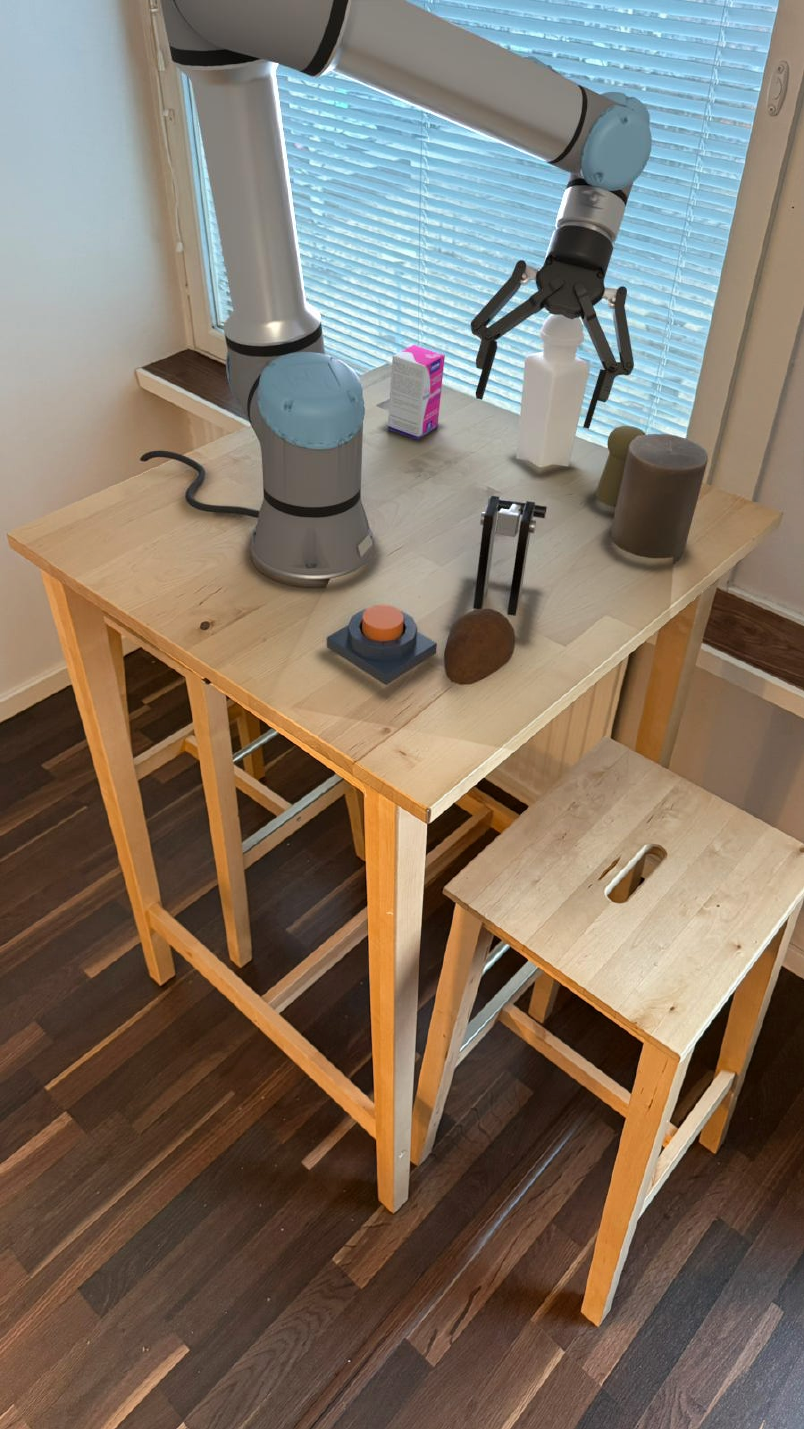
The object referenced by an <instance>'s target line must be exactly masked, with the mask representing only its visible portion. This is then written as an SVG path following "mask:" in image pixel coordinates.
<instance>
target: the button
mask: <svg viewBox="0 0 804 1429" xmlns="http://www.w3.org/2000/svg"><path fill="white" fill-rule="evenodd" d="M365 609H366V610H365V611H364V613H363V616H362V631H363V633H364V635H365V636H366V637H368V638H370V639H371V640H376V641H382V642H383V641H390V640H396V639H397V638H399V637H400V636H401V635H402V632H403V620H404V617H403V614H402V612H403V611H402V610H401V609H399V608H397V607H394V606H392V605H387V604H376V605H372V606H369V607H368V608H365ZM400 610H401V611H402V612H401V611H400Z"/></svg>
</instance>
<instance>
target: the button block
mask: <svg viewBox="0 0 804 1429" xmlns="http://www.w3.org/2000/svg"><path fill="white" fill-rule="evenodd" d="M366 609H367V608H363V609H362V610H361V611H359V612H357V613H355V614H354V615H352V616H351V618H350V619H349V622H348V624H347V625H346V626H344V627H343V628H340V629H339V630H337V631H335V632H334V633H332V634H330V635H328V636H327V637H326V648H328V649H329V650H330V651H331V652H334V653H335V654H337V655H338V656H340V657H341V658H343V659H344V660H345V661H347V662H349V663H350V664H352V665H354V666H355V667H357V668H358V669H359V670H361V671H362V672H364V673H365V674H368V675H369V676H370V677H372V678H374V679H375V680H377V681H378V682H380V683H382V684H383V685H385V686H387V685H389V684H391V683H392V682H394V681H395V680H397V679H398V678H400V677H402V676H403V675H404V674H406V673H407V672H409V671H411V670H412V669H413V668H415V667H417V666H418V665H420V664H422V663H423V662H425V661H426V660H428V659H429V658H431V657H433V656H435V655H436V654H437V647H438V643H437V642H435V641H434V640H432V639H430V638H429V637H427V636H425V635H424V634H422V633H420V631H418V626H417V624H416V622H415V620H414V618H413V617H412V616H411V615H409V614H408V613H406V612H404V611H403V610H401V609H399V610H400V611H401V612H402V614H403V617H404V620H403V632H402V635H401V636H400V637H399V638H397V639H396V640H390V641H383V642H382V641H376V640H371V639H370V638H368V637H366V636H365V635H364V633H363V631H362V616H363V613H364V611H365V610H366Z"/></svg>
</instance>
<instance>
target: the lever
mask: <svg viewBox="0 0 804 1429" xmlns="http://www.w3.org/2000/svg"><path fill="white" fill-rule="evenodd" d="M489 499H490V497H489V498H488V500H487V503H488V502H489ZM525 504H526V502H520V501H515V500H508V499H501V498H499V505H498V513H497V520H496V528H495V535H498V536H499V535H500V536H505V537H511V538H515V537H516V536H517V534H518V532H519V526H520V520H521V516H522V515H523V511H524V508H525ZM547 508H548V507H547V506H546V505H539V504H535V507H534V513H533V518H538V519H546V514H547Z"/></svg>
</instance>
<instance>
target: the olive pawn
mask: <svg viewBox="0 0 804 1429" xmlns="http://www.w3.org/2000/svg"><path fill="white" fill-rule="evenodd" d="M640 435H641V436H642V435H647V434H646V432H645V431H644V430H642V429H641V428H638V427H636V426H631V425H621V426H618V427H615V428H613V429H612V430H611V432H610V433H609V435H608V438H607V444H606V445H607V449H608V452H609V453H608V455H607V459H606V461H605V464H604V467H603V470H602V473H601V476H600V479H599V481H598V484H597V487H596V490H595V493H594V494H595V497H596V499H598V501H600V502H601V503H603V504H605V505H608V506H612V507H616V505H617V501H618V496H619V491H620V487H621V483H622V478H623V473H624V469H625V464H626V459H627V454H628V449H629V445H630V443H631V442H632V441H633V440H634V439H636V437H637V436H640Z"/></svg>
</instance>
